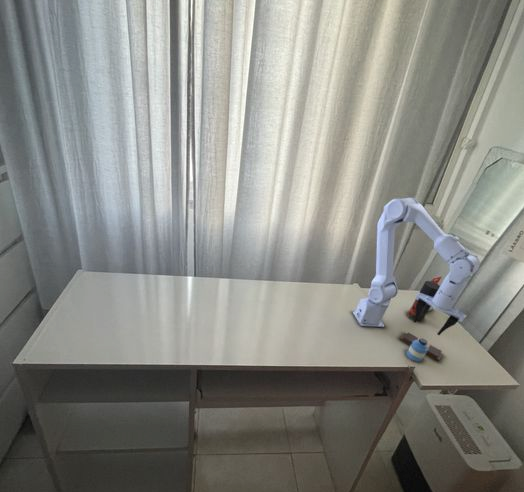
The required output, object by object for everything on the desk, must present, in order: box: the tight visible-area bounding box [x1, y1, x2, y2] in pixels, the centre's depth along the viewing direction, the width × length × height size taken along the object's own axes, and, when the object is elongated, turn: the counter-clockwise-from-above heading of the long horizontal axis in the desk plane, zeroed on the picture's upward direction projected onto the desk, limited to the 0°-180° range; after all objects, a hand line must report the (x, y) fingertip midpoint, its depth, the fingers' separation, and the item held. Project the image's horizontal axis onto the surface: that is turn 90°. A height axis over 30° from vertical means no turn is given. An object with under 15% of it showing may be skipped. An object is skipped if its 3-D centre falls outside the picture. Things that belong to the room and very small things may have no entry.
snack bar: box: [399, 332, 444, 362], centre depth 109 cm, size 14×4×2 cm, turn 49°
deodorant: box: [407, 280, 441, 323], centre depth 122 cm, size 6×6×15 cm
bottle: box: [406, 337, 429, 363], centre depth 103 cm, size 5×5×7 cm
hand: (427, 327), depth 103 cm, fingers open, 7 cm apart
